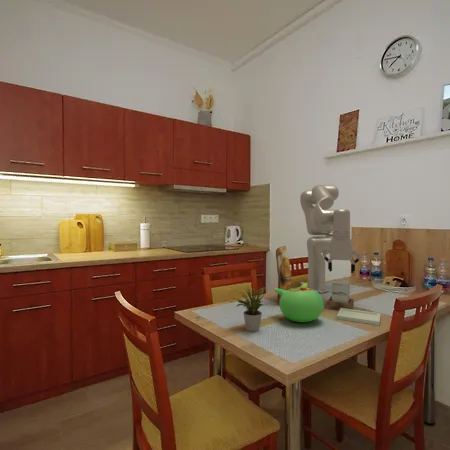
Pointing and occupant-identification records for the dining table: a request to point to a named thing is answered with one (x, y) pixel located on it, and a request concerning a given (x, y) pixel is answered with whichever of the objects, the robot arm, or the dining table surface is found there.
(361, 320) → the tray
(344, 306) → the caddy
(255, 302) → the house plant
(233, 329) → the dining table surface
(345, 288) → the supplement box
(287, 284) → the pancake mix bag
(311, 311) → the round teapot
